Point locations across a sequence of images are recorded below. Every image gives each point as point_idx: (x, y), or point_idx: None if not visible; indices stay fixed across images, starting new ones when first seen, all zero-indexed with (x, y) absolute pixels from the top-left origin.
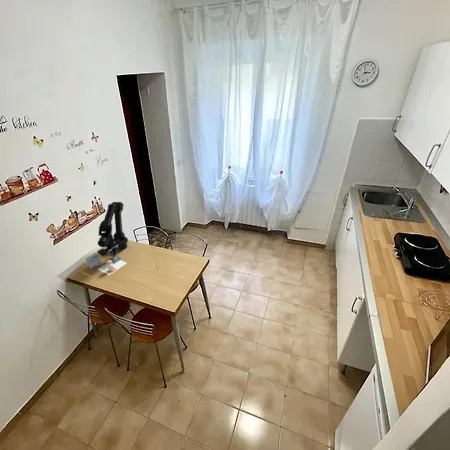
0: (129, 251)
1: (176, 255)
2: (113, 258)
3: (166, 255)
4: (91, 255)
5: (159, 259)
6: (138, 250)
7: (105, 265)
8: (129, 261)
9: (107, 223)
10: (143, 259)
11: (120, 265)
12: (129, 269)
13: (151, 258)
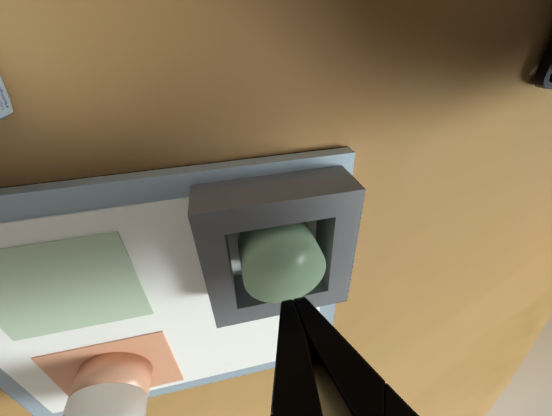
0: (527, 175)
1: (492, 404)
2: (262, 278)
3: (487, 387)
4: None
5: (441, 397)
6: (547, 238)
7: (70, 249)
8: (348, 326)
9: None
10: (415, 359)
11: (244, 352)
12: (263, 398)
13: (440, 374)
